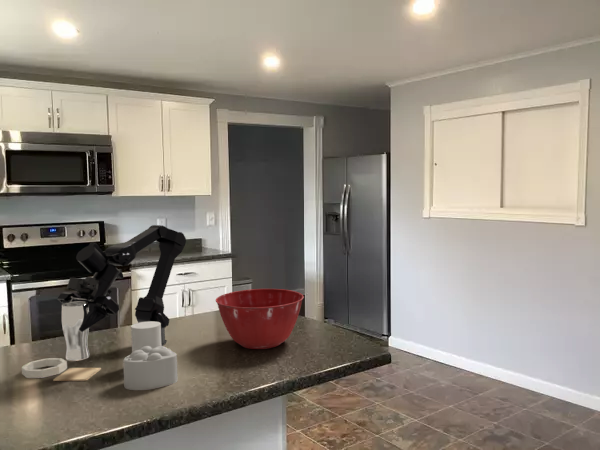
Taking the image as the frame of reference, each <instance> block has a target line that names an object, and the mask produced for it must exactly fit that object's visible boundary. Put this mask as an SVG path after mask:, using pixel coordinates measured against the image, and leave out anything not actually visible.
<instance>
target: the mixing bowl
mask: <svg viewBox="0 0 600 450" xmlns="http://www.w3.org/2000/svg"><path fill="white" fill-rule="evenodd" d="M304 298H305V297H304V294H302V293H301V292H298V291H295V290H290V289H283V288H282V289H280V288H254V289H253V288H252V289H244V290H243V289H242V290H238V291H237V290H236V291H231V292H227V293H224V294H221V295H219V296H218V297H216V299H215V302H216V305H217V308H218V311H219V314H220V317H221V319H222V322H223V324H224V327H225V328H226V330H227V332H228V335H230V337H231V339H232V340H233V341H234V342H235V343H237V344H238V345H240V346H241V347H243V348H245V349H251V350H266V349H272V348H276V347H278V346H280V345H282V343H284V342H286V340H287V339H289V337H290V336H291V333H292V332H293V330H294V328H295V326H296V323H297V321H298V317H299V315H300V311H301V307H302V303H303V299H304Z"/></svg>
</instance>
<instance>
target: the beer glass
mask: <svg viewBox="0 0 600 450" xmlns="http://www.w3.org/2000/svg"><path fill="white" fill-rule="evenodd" d="M88 312H89V306H88V302H85V301H75V302H68V303H64V304H62V303H61V328H62V327H63V328H62V332H63V335H64V339H65V340H64V341H65V345H66V353H65V361H67V362H76V361H77V362H78V361H84V360H86V359H88V358H89V357H90V351H89V347H88V337H89V332H90V330H89V329H90V327H89V328H88V329H86V330H85V331H83V332H81V331H80V327H81V325H82V324H83V322H84V320H85V318H86V316H87V314H88Z"/></svg>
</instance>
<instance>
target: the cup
mask: <svg viewBox="0 0 600 450" xmlns="http://www.w3.org/2000/svg"><path fill="white" fill-rule="evenodd" d="M130 329H131V330H130V335H131V353H132V352H133V351H135V350H139V349H141V348H142V347H144V346H150V347H151V348H152V349H153V348H156V347H158V346H162V344H161V323H160V322H154V321H148V322H140V323H138V322H136V323H133V324H132V325H131V326H130Z"/></svg>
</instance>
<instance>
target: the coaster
mask: <svg viewBox="0 0 600 450" xmlns="http://www.w3.org/2000/svg"><path fill="white" fill-rule="evenodd" d="M99 371H102V367H69V368H67V369H66V370H64V371H63V372H61V373H60V374H58V375H57V376H56V377H55V378H53V379H52V380H53V382H55V381H57V382H58V381H59V382H60V381H61V382H62V381H63V382H65V381H67V382H68V381H69V382H72V381H73V382H77V381H78V382H81V381H82V382H83V381H84V382H85V381H88V380H89V379H91V378H92V377H94V376H95V374H97V373H98V372H99Z"/></svg>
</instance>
